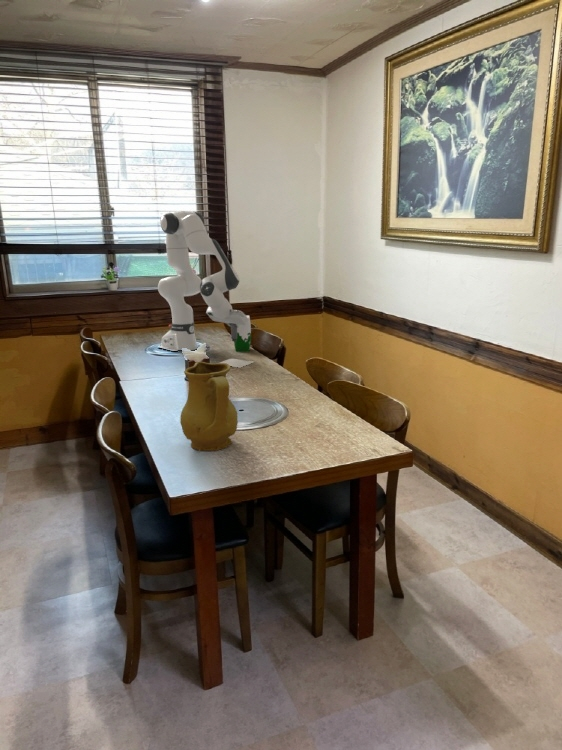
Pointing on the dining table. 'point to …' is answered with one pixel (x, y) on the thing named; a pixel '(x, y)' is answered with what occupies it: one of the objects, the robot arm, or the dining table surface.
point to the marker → (233, 332)
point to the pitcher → (208, 407)
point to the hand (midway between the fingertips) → (234, 325)
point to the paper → (237, 362)
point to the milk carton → (243, 337)
